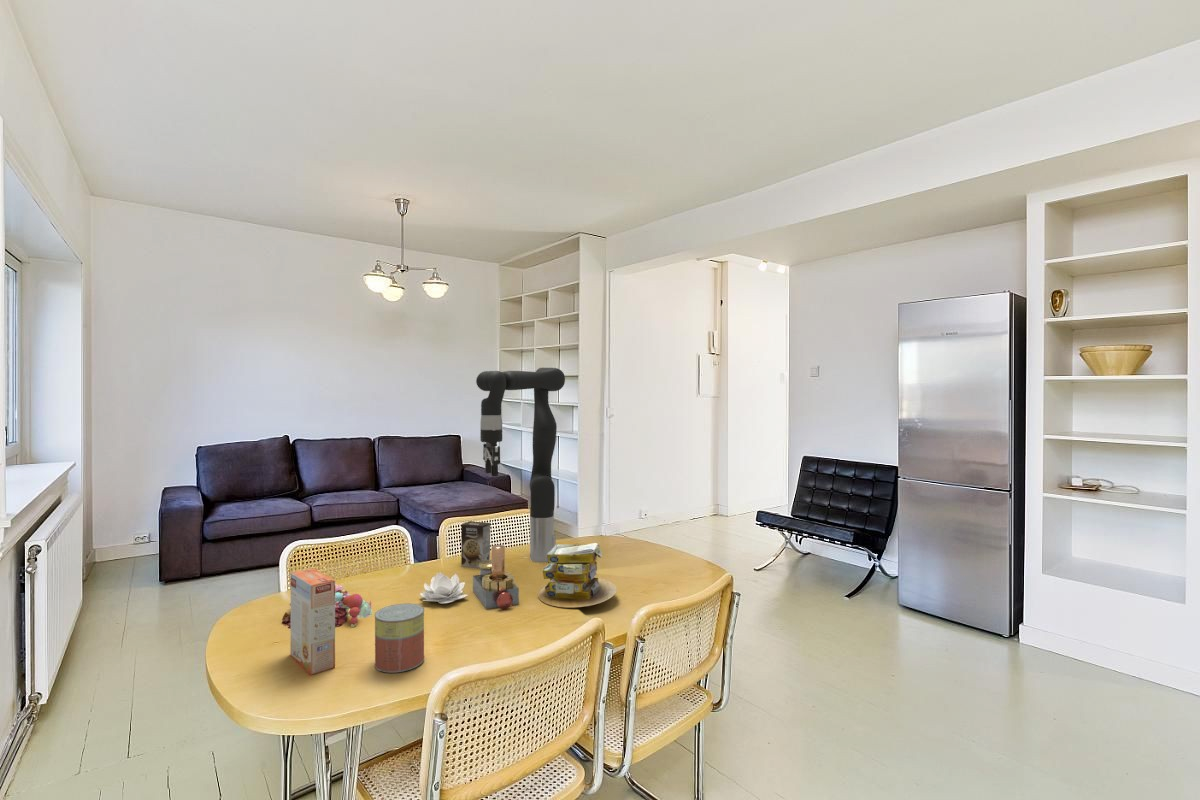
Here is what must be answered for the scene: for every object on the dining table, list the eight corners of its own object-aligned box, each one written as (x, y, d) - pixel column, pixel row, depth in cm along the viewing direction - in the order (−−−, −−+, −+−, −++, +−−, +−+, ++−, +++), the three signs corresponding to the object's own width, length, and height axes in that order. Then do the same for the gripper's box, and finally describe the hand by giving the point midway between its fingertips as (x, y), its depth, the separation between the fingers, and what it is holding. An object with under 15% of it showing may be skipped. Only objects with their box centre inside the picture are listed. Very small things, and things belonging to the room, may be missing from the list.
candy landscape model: (270, 640, 154) (270, 605, 154) (290, 609, 176) (290, 578, 176) (372, 629, 161) (371, 596, 161) (379, 600, 183) (379, 571, 183)
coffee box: (460, 567, 216) (460, 524, 216) (469, 562, 223) (469, 520, 222) (482, 569, 214) (482, 525, 214) (490, 564, 220) (490, 522, 220)
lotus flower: (465, 590, 191) (465, 564, 191) (469, 606, 177) (469, 577, 177) (419, 595, 187) (419, 568, 187) (420, 612, 173) (420, 582, 173)
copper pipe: (490, 584, 182) (490, 545, 182) (502, 582, 184) (502, 544, 184) (493, 588, 178) (493, 548, 178) (506, 586, 180) (506, 547, 180)
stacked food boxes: (594, 611, 170) (594, 553, 172) (523, 601, 181) (523, 547, 182) (627, 592, 192) (627, 541, 194) (562, 585, 203) (562, 536, 204)
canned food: (407, 647, 148) (407, 600, 148) (433, 660, 141) (433, 610, 141) (365, 663, 140) (365, 612, 139) (391, 677, 132) (391, 624, 132)
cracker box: (337, 668, 137) (336, 579, 137) (309, 677, 133) (309, 585, 132) (315, 649, 147) (315, 566, 147) (289, 657, 143) (289, 571, 142)
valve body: (472, 590, 191) (472, 562, 191) (502, 586, 195) (502, 558, 195) (488, 612, 172) (488, 580, 172) (521, 607, 176) (521, 576, 176)
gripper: (476, 427, 209) (476, 472, 209) (485, 429, 196) (485, 477, 196) (496, 426, 212) (496, 471, 212) (507, 429, 199) (507, 476, 199)
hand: (491, 474), depth 204 cm, fingers open, 8 cm apart
